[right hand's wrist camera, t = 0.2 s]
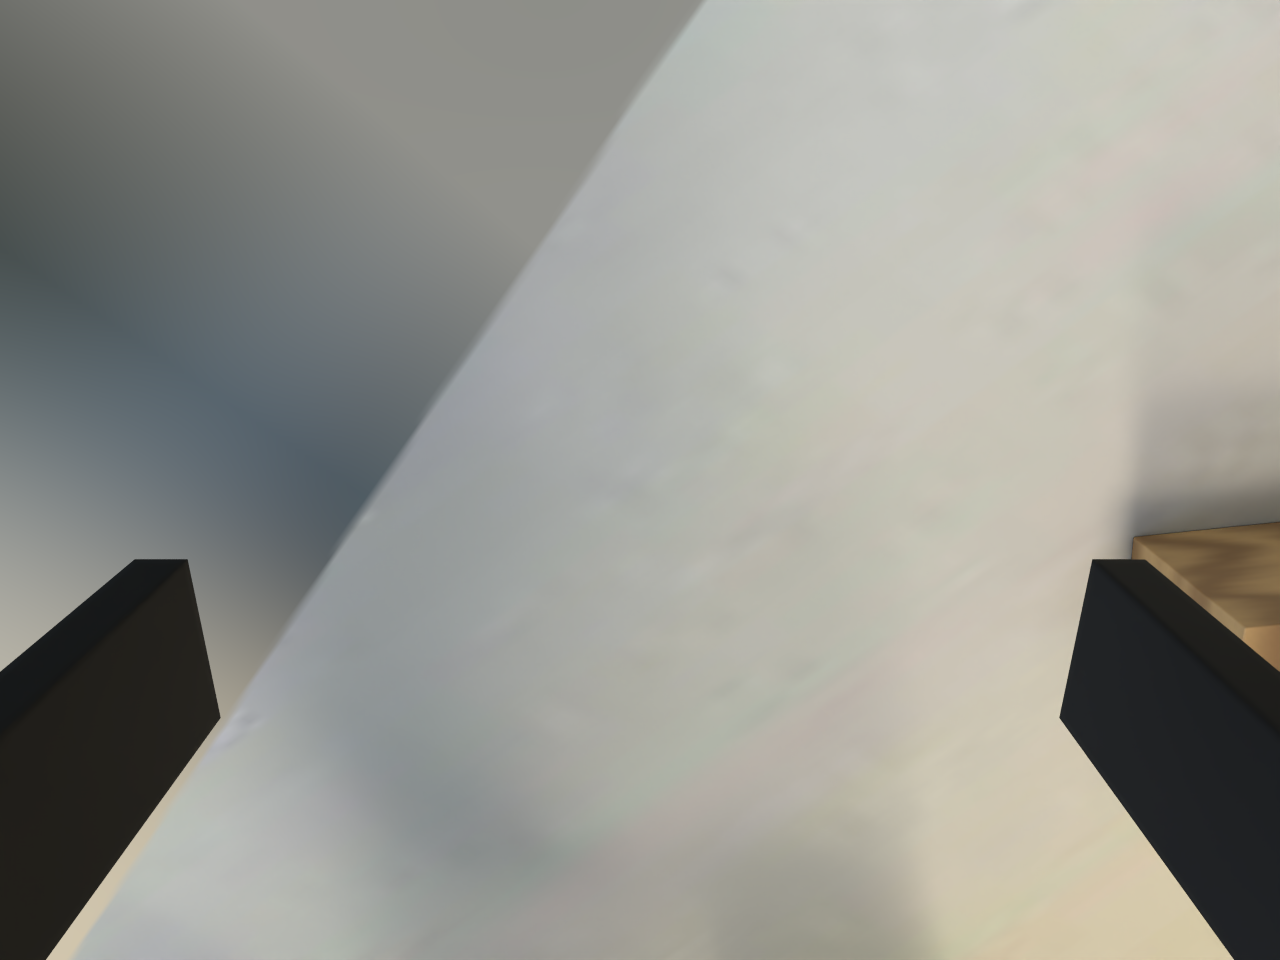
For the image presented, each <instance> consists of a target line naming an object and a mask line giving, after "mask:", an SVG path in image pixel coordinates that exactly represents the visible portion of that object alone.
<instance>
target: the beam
mask: <svg viewBox="0 0 1280 960" xmlns="http://www.w3.org/2000/svg"><path fill="white" fill-rule="evenodd" d="M1132 559H1145V560H1147V561H1148V562H1149V563H1150V564H1151V565H1153V566H1154V567H1155V568H1156V569H1157V570H1159V571H1160V572H1161V573H1162V574H1163V575H1165V576H1166V577H1167V578H1168V579H1169V580H1171V581H1172V582H1173V583H1174V584H1175V585H1176V586H1178V587H1179V588H1180V589H1181V590H1182V591H1184V592H1185V593H1186V594H1187V595H1188V596H1190V597H1191V598H1192V599H1193V600H1194V601H1196V602H1197V603H1198V604H1199V605H1200V606H1202V607H1203V608H1204V609H1205V610H1206V611H1208V612H1209V613H1210V614H1211V615H1212V616H1214V617H1215V618H1216V619H1217V620H1218V621H1220V622H1221V623H1222V624H1223V625H1224V626H1226V627H1227V628H1228V629H1229V630H1230V631H1232V632H1233V633H1234V634H1235V635H1236V636H1237V637H1239V638H1240V639H1241V640H1242V641H1243V642H1245V643H1246V644H1247V645H1248V646H1249V647H1251V648H1252V649H1253V650H1254V651H1255V652H1257V653H1258V654H1259V655H1260V656H1261V657H1263V658H1264V659H1265V660H1266V661H1267V662H1269V663H1270V664H1271V665H1272V666H1273V667H1275V668H1276V669H1277V670H1278V671H1279V672H1280V522H1277V523H1267V524H1257V525H1247V526H1238V527H1228V528H1218V529H1208V530H1199V531H1189V532H1179V533H1169V534H1160V535H1150V536H1140V537H1134V540H1133V550H1132Z"/></svg>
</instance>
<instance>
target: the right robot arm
mask: <svg viewBox="0 0 1280 960" xmlns="http://www.w3.org/2000/svg"><path fill="white" fill-rule="evenodd" d="M1059 718H1060V719H1061V721H1062V722H1063V723H1064V725H1065V726H1066V728H1067V729H1068V730H1069V732H1070V733H1071V734H1072V736H1073V737H1074V739H1075V740H1076V741H1077V743H1078V744H1079V746H1080V747H1081V748H1082V750H1083V751H1084V752H1085V754H1086V755H1087V757H1088V758H1089V759H1090V761H1091V762H1092V764H1093V765H1094V766H1095V768H1096V769H1097V770H1098V772H1099V773H1100V775H1101V776H1102V777H1103V779H1104V780H1105V782H1106V783H1107V784H1108V786H1109V787H1110V788H1111V790H1112V791H1113V793H1114V794H1115V795H1116V797H1117V798H1118V800H1119V801H1120V802H1121V804H1122V805H1123V806H1124V808H1125V809H1126V811H1127V812H1128V813H1129V815H1130V816H1131V818H1132V819H1133V820H1134V822H1135V823H1136V824H1137V826H1138V827H1139V829H1140V830H1141V831H1142V833H1143V834H1144V836H1145V837H1146V838H1147V840H1148V841H1149V842H1150V844H1151V845H1152V847H1153V848H1154V849H1155V851H1156V852H1157V854H1158V855H1159V856H1160V858H1161V859H1162V860H1163V862H1164V863H1165V865H1166V866H1167V867H1168V869H1169V870H1170V872H1171V873H1172V874H1173V876H1174V877H1175V878H1176V880H1177V881H1178V883H1179V884H1180V885H1181V887H1182V888H1183V890H1184V891H1185V892H1186V894H1187V895H1188V896H1189V898H1190V899H1191V901H1192V902H1193V903H1194V905H1195V906H1196V908H1197V909H1198V910H1199V912H1200V913H1201V914H1202V916H1203V917H1204V919H1205V920H1206V921H1207V923H1208V924H1209V926H1210V927H1211V928H1212V930H1213V931H1214V932H1215V934H1216V935H1217V937H1218V938H1219V939H1220V941H1221V942H1222V944H1223V945H1224V946H1225V948H1226V949H1227V950H1228V952H1229V953H1230V955H1231V956H1232V957H1233V959H1234V960H1280V672H1279V671H1278V670H1277V669H1276V668H1275V667H1273V666H1272V665H1271V664H1270V663H1269V662H1267V661H1266V660H1265V659H1264V658H1263V657H1261V656H1260V655H1259V654H1258V653H1257V652H1255V651H1254V650H1253V649H1252V648H1251V647H1249V646H1248V645H1247V644H1246V643H1245V642H1243V641H1242V640H1241V639H1240V638H1239V637H1237V636H1236V635H1235V634H1234V633H1233V632H1232V631H1230V630H1229V629H1228V628H1227V627H1226V626H1224V625H1223V624H1222V623H1221V622H1220V621H1218V620H1217V619H1216V618H1215V617H1214V616H1212V615H1211V614H1210V613H1209V612H1208V611H1206V610H1205V609H1204V608H1203V607H1202V606H1200V605H1199V604H1198V603H1197V602H1196V601H1194V600H1193V599H1192V598H1191V597H1190V596H1188V595H1187V594H1186V593H1185V592H1184V591H1182V590H1181V589H1180V588H1179V587H1178V586H1176V585H1175V584H1174V583H1173V582H1172V581H1171V580H1169V579H1168V578H1167V577H1166V576H1165V575H1163V574H1162V573H1161V572H1160V571H1159V570H1157V569H1156V568H1155V567H1154V566H1153V565H1151V564H1150V563H1149V562H1148V561H1147V560H1145V559H1092V564H1091V569H1090V574H1089V579H1088V583H1087V588H1086V593H1085V598H1084V603H1083V607H1082V612H1081V617H1080V622H1079V626H1078V631H1077V636H1076V641H1075V646H1074V650H1073V655H1072V660H1071V665H1070V670H1069V674H1068V679H1067V684H1066V689H1065V694H1064V698H1063V703H1062V708H1061V713H1060V717H1059ZM219 719H220V713H219V708H218V703H217V698H216V694H215V689H214V684H213V679H212V675H211V670H210V665H209V660H208V655H207V651H206V646H205V641H204V636H203V631H202V627H201V622H200V617H199V612H198V607H197V603H196V598H195V593H194V588H193V583H192V579H191V574H190V569H189V564H188V560H187V559H135V560H133V561H132V562H131V563H130V564H129V565H127V566H126V567H125V568H124V569H123V570H121V571H120V572H119V573H118V574H117V575H115V576H114V577H113V578H112V579H111V580H109V581H108V582H107V583H106V584H105V585H104V586H102V587H101V588H100V589H99V590H98V591H96V592H95V593H94V594H93V595H92V596H90V597H89V598H88V599H87V600H86V601H84V602H83V603H82V604H81V605H80V606H78V607H77V608H76V609H75V610H74V611H72V612H71V613H70V614H69V615H68V616H66V617H65V618H64V619H63V620H62V621H60V622H59V623H58V624H57V625H56V626H54V627H53V628H52V629H51V630H50V631H49V632H47V633H46V634H45V635H44V636H43V637H41V638H40V639H39V640H38V641H37V642H35V643H34V644H33V645H32V646H31V647H29V648H28V649H27V650H26V651H25V652H23V653H22V654H21V655H20V656H19V657H17V658H16V659H15V660H14V661H13V662H12V663H10V664H9V665H8V666H7V667H5V668H4V669H3V670H2V671H1V672H0V960H46V959H47V957H48V956H49V955H50V953H51V952H52V950H53V949H54V948H55V946H56V945H57V944H58V942H59V941H60V939H61V938H62V937H63V935H64V934H65V932H66V931H67V930H68V928H69V927H70V925H71V924H72V923H73V921H74V920H75V919H76V917H77V916H78V914H79V913H80V912H81V910H82V909H83V908H84V906H85V905H86V903H87V902H88V901H89V899H90V898H91V896H92V895H93V894H94V892H95V891H96V890H97V888H98V887H99V885H100V884H101V883H102V881H103V880H104V878H105V877H106V876H107V874H108V873H109V872H110V870H111V869H112V867H113V866H114V865H115V863H116V862H117V860H118V859H119V858H120V856H121V855H122V854H123V852H124V851H125V849H126V848H127V847H128V845H129V844H130V842H131V841H132V840H133V838H134V837H135V835H136V834H137V833H138V831H139V830H140V829H141V827H142V826H143V824H144V823H145V822H146V820H147V819H148V817H149V816H150V815H151V813H152V812H153V811H154V809H155V808H156V806H157V805H158V804H159V802H160V801H161V800H162V798H163V797H164V795H165V794H166V793H167V791H168V790H169V788H170V787H171V786H172V784H173V783H174V781H175V780H176V779H177V777H178V776H179V775H180V773H181V772H182V770H183V769H184V768H185V766H186V765H187V763H188V762H189V761H190V759H191V758H192V757H193V755H194V754H195V752H196V751H197V750H198V748H199V747H200V746H201V744H202V743H203V741H204V740H205V739H206V737H207V736H208V734H209V733H210V732H211V730H212V729H213V727H214V726H215V725H216V723H217V722H218V721H219Z"/></svg>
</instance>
